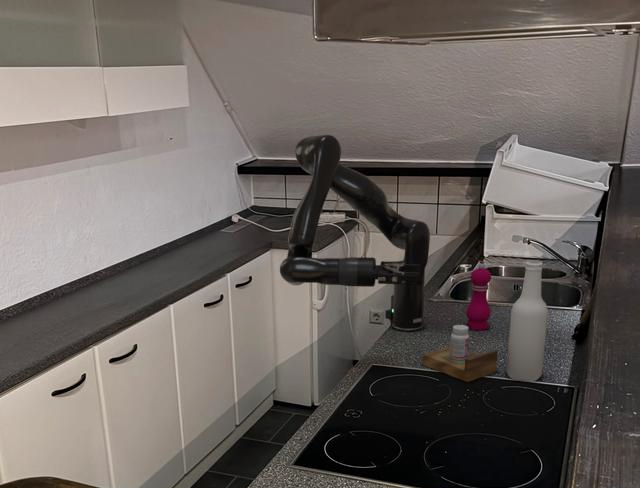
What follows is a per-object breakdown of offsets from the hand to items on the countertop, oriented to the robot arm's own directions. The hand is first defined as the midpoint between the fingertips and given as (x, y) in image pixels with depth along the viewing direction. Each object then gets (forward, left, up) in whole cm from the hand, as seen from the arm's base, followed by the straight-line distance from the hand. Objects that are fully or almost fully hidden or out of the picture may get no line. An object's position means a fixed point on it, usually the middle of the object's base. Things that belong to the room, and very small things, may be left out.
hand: (420, 272), depth 196 cm
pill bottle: (+8, +8, -23) cm, 25 cm away
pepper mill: (-12, +38, -26) cm, 48 cm away
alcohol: (+22, +17, -26) cm, 38 cm away
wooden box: (+8, +8, -26) cm, 28 cm away
